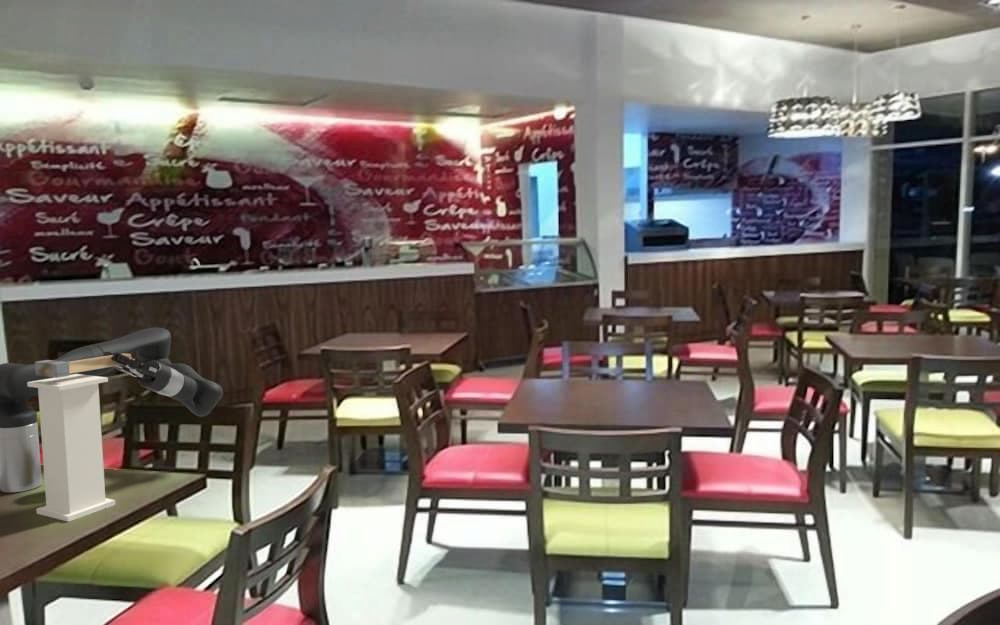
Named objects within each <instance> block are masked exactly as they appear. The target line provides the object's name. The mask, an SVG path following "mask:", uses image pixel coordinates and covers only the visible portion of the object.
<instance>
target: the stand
mask: <svg viewBox="0 0 1000 625" xmlns="http://www.w3.org/2000/svg"><path fill="white" fill-rule="evenodd" d="M107 382H109V378H108V377H107V376H90V375H82V374H73V375H70V376H65V377H59V378H49V379H44V380H38V381H32V382H27V386H28V387H35V388H38V394H37V395H38V405H39V407H38V408H39V417H40V418H39V419H40V420H39V421H40V422H39V424H40V434H41V435H40V436H41V448H42V449H41V450H42V451H41V452H42V462H43V463H42V464H43V476H44V480H43V481H44V488H45V489H44V493H45V503H46V504H45V505H44V506H41V507H37V508H36V514H37V515H41V516H44V517H49V518H53V519H55V520H60V521H64V522H71V521H74V520H77V519H80V518H83V517H87V516H88V515H92V514H93V513H97V512H99V511H103V510H105V508H106V509H108V508H110V507H111V508H112V507H113V506H116V500H115V499H112V498H107V497H106V487H105V486H106V485H105V471H104V470H105V469H104V455H103V454H104V453H103V452H104V451H103V440H102V438H103V437H102V423H101V421H102V419H101V406H100V405H101V404H100V402H101V401H100V389H99V384H103V383H107Z"/></svg>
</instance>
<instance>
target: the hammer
mask: <svg viewBox="0 0 1000 625" xmlns="http://www.w3.org/2000/svg"><path fill="white" fill-rule="evenodd" d="M122 355H124V356H126V357H132V354H124V353H122ZM112 356H113V355H110V356H103V357H96V358H90V359H83V360H77V361H70V362H62V361H53V360H54V359H53V360H51V359H46V360H38V361H35V362H34V364H35V370H36V375H38V376H46V377H54V378H59V377H65V376H70V374H71V373H77V372H83V371H89V370H95V369H101V368H107V367H113V366H118V365H122V364H119V363H117V362H115V361H113V360H112Z"/></svg>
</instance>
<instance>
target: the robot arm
mask: <svg viewBox="0 0 1000 625" xmlns="http://www.w3.org/2000/svg"><path fill="white" fill-rule="evenodd" d="M171 343H172V335H171V332H170V331H169V330H168V329H166V328H163V327H148V328H144V329H143V328H142V329H141V330H137V331H135V332H132V333H129V334H126V335H124V336H121V337H118V338H115V339H110V340H107V341H103V342H100V343H93V344H90V345H86V346H82V347H81V346H80V347H77V348H75V349H73V350H70V351H69V352H66V353H65V354H63V355H62V356H60V357H58V358H56V359H53V361H62V362H70V361H77V360H83V359H90V358H96V357H103V356H110V355H113V356H112V360H113V361H115V362H117V363H119V364H122V365H118V366H113V367H107V368H101V369H95V370H89V371H83V372H77V373H71V374H70V375H73V374H82V375H90V376H99V377H101V376H103V375H106V374H108V373H110V372H111V371H113V370H115V369H116V370H117V371H119V372H121V373H127V374H129V376H132V377H135V378H137V380H138V381H137V382H138V383H139V385H140V387H143V388H145V389H147V390H150V391H152V392H155V393H156V394H159V395H162V396H167V397H168V398H171V399H173V400H175V401H178V402H180V403H181V404H182V405H183V406H185V407H186V408H187V409H188V410H189V411H190V412H191V413H192V414H193V415H195V416H197V417H200V418H201V417H206V416H208V415H209V414H210V413H211V412H212V411H213V409H214V408H215V407H216V405H217V404H218V403H219V401H220V400H221V399H222V398H223V395H224V390H223V387H222V386H221V385H220V384H218V383H217V382H214V381H212V380H210V379H209V380H208V379H207V378H206V379H205V378H204V377H202V376H201V375H200V374H199V373H198V372H197V371H195V370H194V368H192V366H189V365H187V364H186V363H181V362H176V363H172V362H171V360H170V359H169V356H170V351H171V350H170V349H171ZM122 353H124V354H131V355H133V354H134V353H136V358H133V357H132V356H131V357H126V356H124V355H122ZM49 378H54V377H46V376H38V375H36V370H35V363H30V364H29V363H28V364H24V363H22V364H20V363H14V362H5V363H4V362H3V363H0V492H3V493H20V492H26V491H29V490H34V489H36V488H38V487H40V486H42V484H43V482H42V478H43V477H42V467H41V466H42V465H41V455H40V454H41V452H40V438H39V436H40V435H39V426H38V414H37V411H36V409H34V408H33V406H31V405H30V403H29V401H28V399H29V398H32V397H35V396H37V395H39V394H38V388H35V387H28V386H27V382H32V381H38V380H44V379H49Z"/></svg>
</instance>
